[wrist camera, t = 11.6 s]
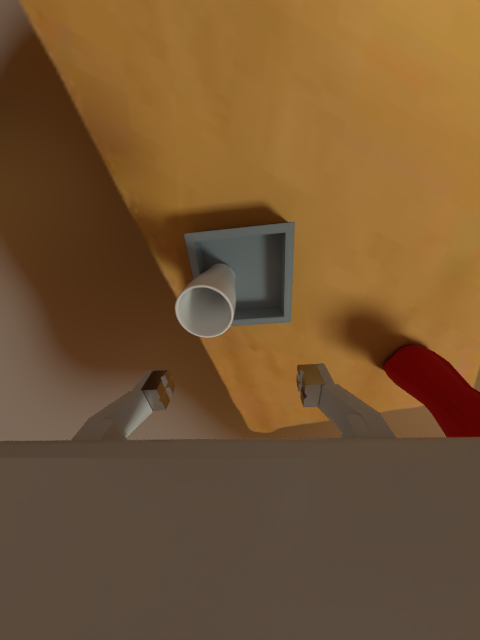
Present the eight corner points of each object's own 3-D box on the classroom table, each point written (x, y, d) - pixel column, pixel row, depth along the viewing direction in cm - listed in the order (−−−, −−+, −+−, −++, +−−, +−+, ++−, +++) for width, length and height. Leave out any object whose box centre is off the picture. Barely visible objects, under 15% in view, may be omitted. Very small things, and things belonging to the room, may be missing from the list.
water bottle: (445, 346, 40) (692, 501, 18) (405, 379, 44) (558, 532, 22) (412, 331, 38) (634, 480, 16) (374, 367, 43) (506, 518, 21)
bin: (192, 232, 31) (183, 233, 27) (287, 222, 30) (294, 221, 25) (209, 315, 38) (204, 327, 34) (285, 310, 37) (290, 322, 33)
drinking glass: (197, 283, 34) (165, 322, 21) (212, 250, 31) (187, 271, 18) (229, 300, 36) (217, 347, 22) (246, 270, 33) (245, 303, 19)
